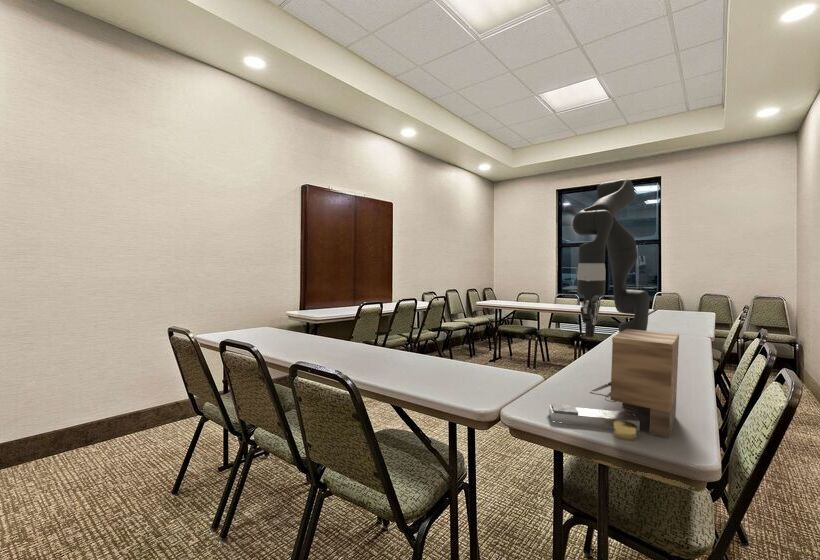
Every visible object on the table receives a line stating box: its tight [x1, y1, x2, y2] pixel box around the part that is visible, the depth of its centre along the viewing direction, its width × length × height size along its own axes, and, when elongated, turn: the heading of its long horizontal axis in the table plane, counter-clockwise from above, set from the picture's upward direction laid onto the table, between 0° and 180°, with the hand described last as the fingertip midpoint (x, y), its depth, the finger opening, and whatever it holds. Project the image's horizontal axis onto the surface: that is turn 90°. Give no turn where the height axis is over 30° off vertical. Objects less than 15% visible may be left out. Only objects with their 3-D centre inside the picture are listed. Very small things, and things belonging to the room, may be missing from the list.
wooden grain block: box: [609, 329, 680, 440], centre depth 104 cm, size 19×13×23 cm
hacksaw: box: [589, 381, 618, 403], centre depth 129 cm, size 24×10×2 cm, turn 128°
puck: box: [613, 421, 638, 442], centre depth 94 cm, size 5×5×3 cm
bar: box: [548, 403, 641, 432], centre depth 103 cm, size 6×21×4 cm, turn 77°
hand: (589, 336), depth 114 cm, fingers closed
